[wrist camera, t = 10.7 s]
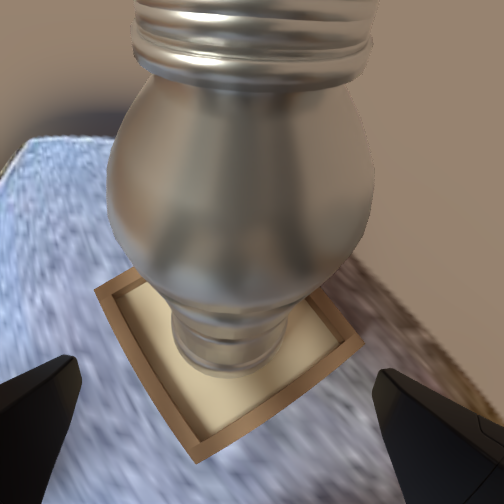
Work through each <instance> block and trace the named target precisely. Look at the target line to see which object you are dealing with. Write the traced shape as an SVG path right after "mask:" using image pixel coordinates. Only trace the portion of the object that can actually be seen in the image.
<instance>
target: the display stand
mask: <svg viewBox="0 0 504 504" xmlns="http://www.w3.org/2000/svg"><path fill="white" fill-rule="evenodd" d="M94 292H95V294H96V296H97V298H98V300H99V303H100V305H101V307H102V309H103V311H104V313H105V315H106V317H107V319H108V321H109V324H110V326H111V328H112V330H113V332H114V334H115V335H116V337H117V339H118V341H119V343H120V345H121V347H122V349H123V351H124V353H125V354H126V356H127V358H128V360H129V362H130V364H131V365H132V367H133V369H134V371H135V372H136V374H137V376H138V378H139V379H140V381H141V383H142V385H143V386H144V388H145V390H146V391H147V393H148V395H149V396H150V398H151V399H152V401H153V403H154V404H155V406H156V407H157V409H158V411H159V412H160V414H161V415H162V417H163V418H164V420H165V421H166V423H167V424H168V426H169V427H170V429H171V430H172V432H173V433H174V435H175V436H176V438H177V439H178V440H179V442H180V443H181V445H182V446H183V448H184V449H185V450H186V452H187V453H188V454H189V456H190V457H191V459H192V460H193V461H194V463H195V464H198V463H200V462H201V461H203V460H205V459H207V458H208V457H210V456H212V455H213V454H215V453H217V452H219V451H220V450H222V449H224V448H225V447H227V446H228V445H230V444H232V443H233V442H235V441H236V440H238V439H240V438H241V437H243V436H244V435H246V434H247V433H249V432H250V431H252V430H254V429H255V428H257V427H258V426H260V425H261V424H263V423H264V422H265V421H267V420H268V419H270V418H271V417H273V416H274V415H276V414H277V413H278V412H280V411H281V410H283V409H284V408H285V407H287V406H288V405H290V404H291V403H292V402H294V401H295V400H296V399H298V398H299V397H300V396H302V395H303V394H304V393H306V392H307V391H308V390H310V389H311V388H312V387H314V386H315V385H316V384H317V383H319V382H320V381H321V380H323V379H324V378H325V377H326V376H328V375H329V374H330V373H331V372H333V371H334V370H335V369H336V368H337V367H339V366H340V365H341V364H342V363H343V362H345V361H346V360H347V359H348V358H349V357H351V356H352V355H353V354H354V353H355V352H356V351H358V350H359V349H360V348H361V347H362V346H363V345H364V344H365V343H364V341H363V340H362V339H361V337H360V336H359V335H358V334H357V332H356V331H355V330H354V329H353V327H352V326H351V325H350V324H349V322H348V321H347V320H346V318H345V317H344V316H343V315H342V313H341V312H340V311H339V310H338V308H337V307H336V306H335V305H334V303H333V302H332V301H331V300H330V298H329V297H328V296H327V295H326V294H325V292H324V291H323V290H322V289H321V287H319V288H317V289H316V290H314V291H313V292H312V293H311V294H310V295H308V296H307V297H306V298H305V299H303V300H302V301H301V302H300V303H298V304H297V305H296V306H295V307H294V308H293V309H292V310H291V312H290V313H289V314H288V323H287V328H286V332H285V336H284V340H283V342H282V344H281V346H280V348H279V350H278V352H277V353H276V355H275V356H274V357H273V358H272V360H271V361H270V362H268V363H267V364H266V365H265V366H264V367H263V368H261V369H259V370H258V371H256V372H254V373H252V374H249V375H246V376H244V377H240V378H232V379H224V378H215V377H212V376H208V375H205V374H203V373H201V372H199V371H197V370H195V369H194V368H193V367H192V366H191V365H189V364H188V363H187V362H186V361H185V360H184V358H183V357H182V356H181V355H180V353H179V351H178V349H177V347H176V345H175V343H174V339H173V335H172V328H171V312H172V311H171V308H170V307H169V305H168V304H167V302H166V300H165V299H164V298H163V297H162V296H161V295H160V294H159V293H158V292H157V291H156V290H155V289H154V288H153V287H152V286H151V285H150V284H149V283H148V282H147V281H146V280H145V279H144V278H143V277H142V276H141V275H140V274H139V273H138V271H137V270H136V269H135V267H132V268H130V269H129V270H127V271H125V272H123V273H122V274H120V275H118V276H116V277H115V278H113V279H111V280H109V281H108V282H106V283H104V284H103V285H101V286H99V287H97V288H96V289H94Z"/></svg>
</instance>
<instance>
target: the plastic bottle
mask: <svg viewBox="0 0 504 504" xmlns="http://www.w3.org/2000/svg"><path fill="white" fill-rule="evenodd" d="M379 1H380V0H134V8H135V17H136V18H135V19H134V20H133V22H132V24H131V26H130V34H131V40H132V47H133V54H134V57H135V58H136V60H137V62H138V63H139V64H140V65H141V66H142V67H143V68H145V69H146V70H148V71H149V72H151V73H152V74H151V76H150V77H149V79H148V80H147V82H146V83H145V85H144V86H143V88H142V89H141V91H140V92H139V94H138V95H137V97H136V99H135V100H134V102H133V103H132V105H131V107H130V109H129V110H128V112H127V113H126V115H125V117H124V120H123V122H122V124H121V127H120V129H119V131H118V134H117V136H116V138H115V141H114V143H113V146H112V148H111V152H110V156H109V160H108V165H107V179H106V200H107V215H108V219H109V222H110V225H111V228H112V231H113V234H114V237H115V239H116V240H117V242H118V243H119V245H120V246H121V248H122V249H123V251H124V252H125V254H126V256H127V257H128V258H129V260H130V261H131V263H132V264H133V266H134V267H135V269H136V270H137V271H138V273H139V274H140V275H141V276H142V277H143V278H144V279H145V280H146V281H147V282H148V283H149V284H150V285H151V286H152V287H153V288H154V289H155V290H156V291H157V292H158V293H159V294H160V295H161V296H162V297H163V298H164V299H165V300H166V302H167V304H168V305H169V307H170V308H171V311H172V312H171V328H172V335H173V339H174V343H175V345H176V347H177V349H178V351H179V353H180V355H181V356H182V357H183V358H184V360H185V361H186V362H187V363H188V364H189V365H191V366H192V367H193V368H194V369H195V370H197V371H199V372H201V373H203V374H205V375H208V376H212V377H215V378H224V379H232V378H240V377H244V376H246V375H249V374H252V373H254V372H256V371H258V370H259V369H261V368H263V367H264V366H265V365H266V364H267V363H268V362H270V361H271V360H272V358H273V357H274V356H275V355H276V353H277V352H278V350H279V348H280V346H281V344H282V342H283V340H284V336H285V332H286V328H287V323H288V314H289V313H290V312H291V310H292V309H293V308H294V307H295V306H296V305H297V304H298V303H300V302H301V301H302V300H303V299H305V298H306V297H307V296H308V295H310V294H311V293H312V292H313V291H314V290H316V289H317V288H319V287H320V286H321V285H322V284H323V283H324V282H325V281H326V280H327V279H328V278H329V277H331V276H332V275H333V274H334V273H335V272H336V271H337V270H338V268H339V267H340V266H341V265H342V264H343V263H344V262H345V261H346V259H347V258H348V257H349V256H350V255H351V253H352V252H353V250H354V249H355V247H356V246H357V244H358V242H359V241H360V239H361V238H362V236H363V234H364V231H365V228H366V224H367V222H368V219H369V216H370V210H371V204H372V197H373V190H374V174H375V169H374V164H373V160H372V156H371V152H370V148H369V144H368V140H367V136H366V133H365V129H364V126H363V122H362V119H361V117H360V115H359V113H358V110H357V108H356V106H355V104H354V102H353V99H352V97H351V95H350V93H349V91H348V89H347V87H346V85H345V84H346V83H348V82H351V81H353V80H354V79H356V78H357V77H358V76H360V75H361V74H362V73H363V71H364V69H365V67H366V65H367V62H368V59H369V56H370V53H371V50H372V47H373V39H372V37H371V34H370V32H371V28H372V25H373V21H374V18H375V15H376V11H377V8H378V5H379Z"/></svg>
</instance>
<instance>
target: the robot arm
mask: <svg viewBox="0 0 504 504" xmlns="http://www.w3.org/2000/svg"><path fill="white" fill-rule="evenodd" d="M81 385H82V377H81V373H80V370H79V366H78V362H77V359H76V358H75V357H74V356H70V355H61V356H59V357H57V358H55V359H52V360H50V361H48V362H46V363H44V364H42V365H40V366H38V367H36V368H34V369H31V370H29V371H27V372H25V373H23V374H21V375H19V376H17V377H15V378H12V379H10V380H8V381H6V382H4V383H2V384H0V504H41V503H42V500H43V497H44V493H45V490H46V488H47V485H48V482H49V479H50V476H51V473H52V470H53V468H54V465H55V462H56V459H57V457H58V454H59V452H60V449H61V446H62V444H63V441H64V439H65V436H66V434H67V431H68V429H69V426H70V423H71V420H72V416H73V413H74V409H75V406H76V402H77V399H78V395H79V392H80V389H81ZM372 398H373V402H374V406H375V410H376V414H377V418H378V422H379V426H380V430H381V434H382V437H383V440H384V443H385V446H386V448H387V451H388V454H389V456H390V459H391V462H392V465H393V468H394V470H395V473H396V476H397V479H398V482H399V485H400V487H401V490H402V493H403V496H404V499H405V502H406V504H504V427H502V426H500V425H498V424H496V423H494V422H492V421H490V420H488V419H486V418H484V417H482V416H480V415H477V414H476V413H474V412H472V411H470V410H469V409H467V408H465V407H463V406H461V405H459V404H457V403H455V402H453V401H452V400H450V399H448V398H446V397H444V396H442V395H440V394H439V393H437V392H435V391H433V390H431V389H429V388H428V387H426V386H424V385H422V384H420V383H418V382H417V381H415V380H413V379H411V378H409V377H408V376H406V375H404V374H402V373H400V372H399V371H397V370H395V369H393V368H388V369H381V370H380V371H379V372H378V375H377V378H376V381H375V384H374V387H373V390H372Z"/></svg>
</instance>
